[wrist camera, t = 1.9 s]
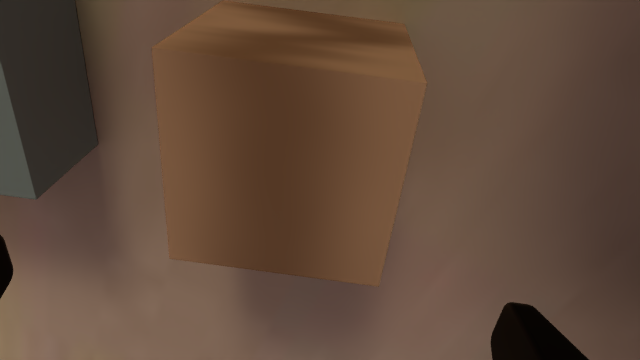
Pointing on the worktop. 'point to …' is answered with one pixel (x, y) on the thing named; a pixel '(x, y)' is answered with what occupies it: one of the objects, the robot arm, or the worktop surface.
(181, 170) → the terracotta cube
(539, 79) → the worktop surface
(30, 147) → the slate block
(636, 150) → the worktop surface
